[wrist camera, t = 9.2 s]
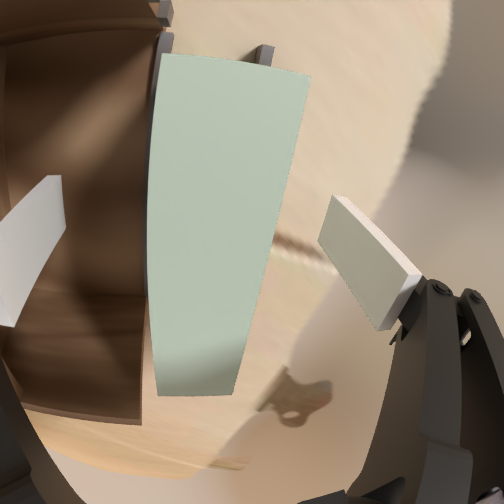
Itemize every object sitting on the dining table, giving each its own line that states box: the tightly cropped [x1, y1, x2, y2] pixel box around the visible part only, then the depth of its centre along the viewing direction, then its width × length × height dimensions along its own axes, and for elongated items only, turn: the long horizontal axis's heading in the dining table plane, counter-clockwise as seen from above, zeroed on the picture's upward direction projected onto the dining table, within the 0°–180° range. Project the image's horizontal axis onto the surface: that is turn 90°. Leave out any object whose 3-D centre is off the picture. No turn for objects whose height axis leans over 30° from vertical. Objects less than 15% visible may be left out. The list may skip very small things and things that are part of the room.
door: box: [147, 53, 311, 396], centre depth 12 cm, size 12×3×10 cm, turn 170°
